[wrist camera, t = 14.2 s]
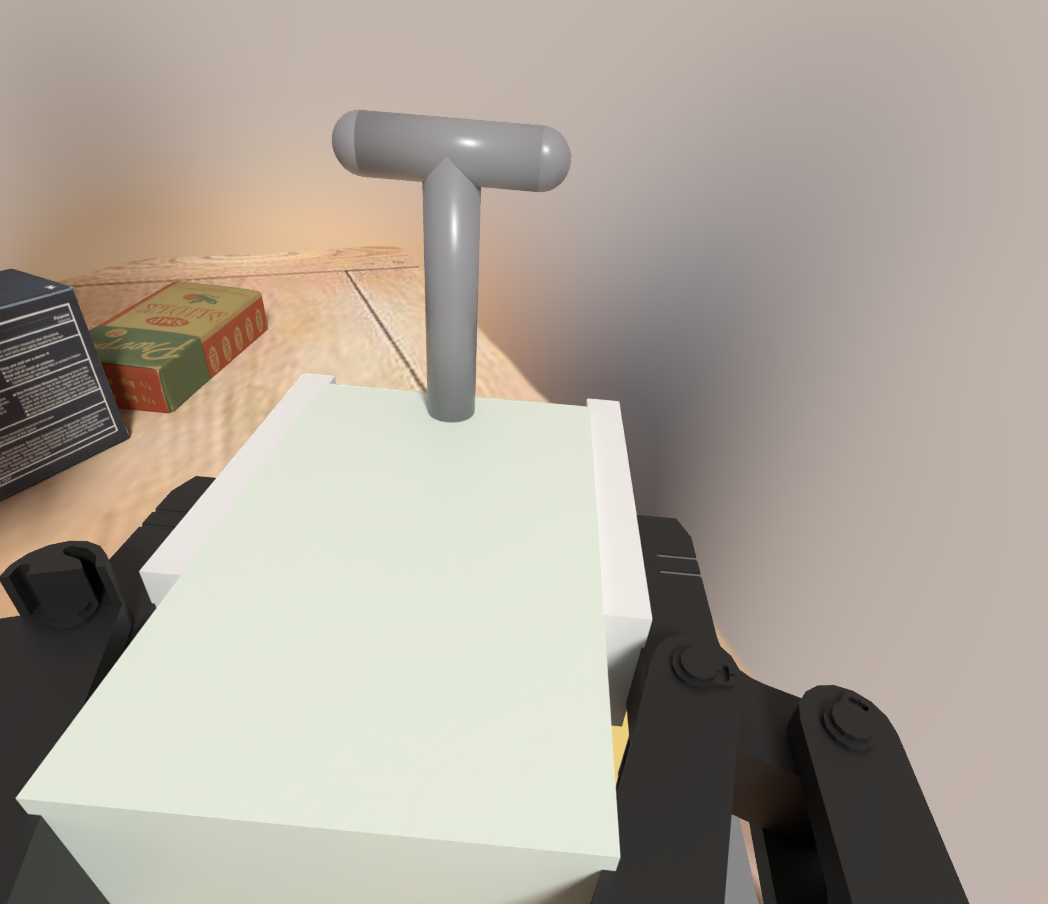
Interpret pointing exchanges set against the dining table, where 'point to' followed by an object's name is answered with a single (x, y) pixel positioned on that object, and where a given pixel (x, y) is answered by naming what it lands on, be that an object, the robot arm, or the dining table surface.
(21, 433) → the small box
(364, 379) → the dining table surface
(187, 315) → the carton
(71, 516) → the dining table surface
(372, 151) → the plunger detonator box
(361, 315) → the dining table surface
